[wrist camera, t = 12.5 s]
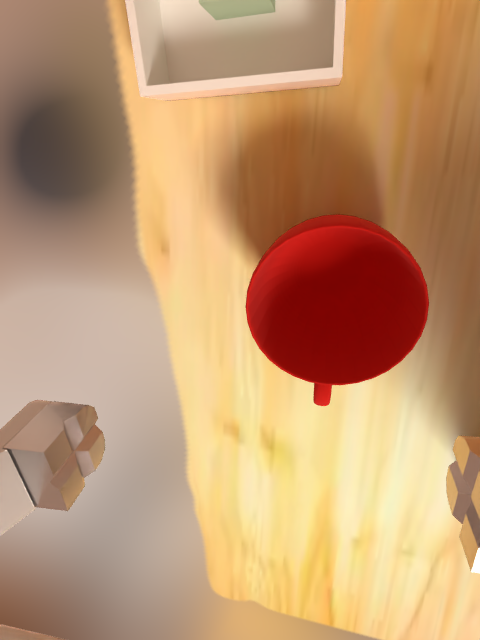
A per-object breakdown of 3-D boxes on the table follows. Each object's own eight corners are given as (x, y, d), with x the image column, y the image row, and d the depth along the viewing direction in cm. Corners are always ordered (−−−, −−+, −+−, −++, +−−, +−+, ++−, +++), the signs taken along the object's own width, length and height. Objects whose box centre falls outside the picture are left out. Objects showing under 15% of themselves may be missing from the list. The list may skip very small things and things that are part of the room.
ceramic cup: (262, 353, 42) (246, 413, 33) (264, 196, 34) (243, 220, 25) (383, 364, 40) (400, 432, 31) (415, 198, 32) (450, 226, 23)
